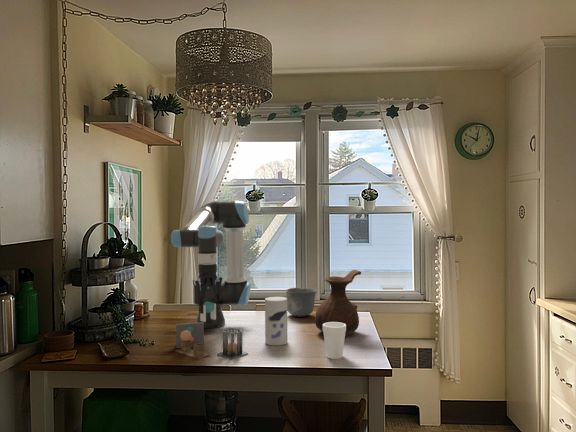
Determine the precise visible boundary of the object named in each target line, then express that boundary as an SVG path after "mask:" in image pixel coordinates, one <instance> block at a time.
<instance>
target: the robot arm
mask: <svg viewBox="0 0 576 432" xmlns="http://www.w3.org/2000/svg"><path fill="white" fill-rule="evenodd" d="M249 215H250V214H249V210H248V206H247V203H246V202H245V201H244V200H243V201H242V200H215V201H211V202H208V203H206V204H204V205H202V206H201V207H199V208H198V209H197V210H196V212H195V215H194V217H193V218H191V220H189V221H188V223H187V224H186V225H185V226H184V227H183V228H182V229H174V230H173V231H172V232H171V234H170V235H171V236H170V240H171V241H170V242H171V245H172V247H174V248H198V251H197V253H198V255H197V257H198V259H197V260H198V262H197V263H199V264H198V265H197V266H198V274H199V275H198V278H197V279H193V280H192V284H193V292H194V293H193V295H194V297H193V298H194V301H193V303H194V305H198V312H197V313H198V314H197V316H196V319H195V323H202V322H204V329H215V328H221V327H224V326H225V325H226V319H225V317H224V313H223V309H222V306H237V307H239V306H246V305H247V304H248V302H249V299H250V297H251V296H250V295H251V282H248V278H247V277H246V276H245V268H244V267H245V266H244V232H243V231H244V229H245V228H246V225H247V224H249V220H250V219H249ZM218 224H219V225H222V228H223V229H224V230H225V235H224V233H223V231H221V230H220V229H217V226H215V225H218ZM225 240H226V241H225ZM224 242H225V243H226V245H225V246H226V273H227V275H226V278H225V279H224V282H223V277H220V276H218V275H217V273H218V265H217V262H218V254H217V253H218V251H217V250H218V247H220V246H221V245H222V244H223V243H224ZM205 302H211V303H212V304H213V305H214V309H213V311H212V312H210V313H206V306H205V305H204V303H205Z"/></svg>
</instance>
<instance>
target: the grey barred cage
mask: <svg viewBox="0 0 576 432" xmlns="http://www.w3.org/2000/svg"><path fill="white" fill-rule="evenodd" d="M229 331H231V332H229ZM235 331H236V332H235ZM221 333H222V351H220V352H219V353H217V354H216V355H217V356H220V357H222V358H226V359H229V360H234V359H237V358H241V357H244V356H247V355H249V353H248V352H245V351H243V329H241V328H236V327H235V328H233V327H232V328H225V329H223V330H222V332H221ZM229 335H230V343H231V353H229V352H228V350H227V346H228V344H229ZM235 335H236V344H237V352H236V353H233V342H235Z"/></svg>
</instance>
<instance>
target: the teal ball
mask: <svg viewBox="0 0 576 432" xmlns="http://www.w3.org/2000/svg"><path fill="white" fill-rule="evenodd" d="M204 305H205V306H206V313H210V312H212V311H213V309H214V305H213V304H212V303H211V302H205V303H204Z"/></svg>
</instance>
